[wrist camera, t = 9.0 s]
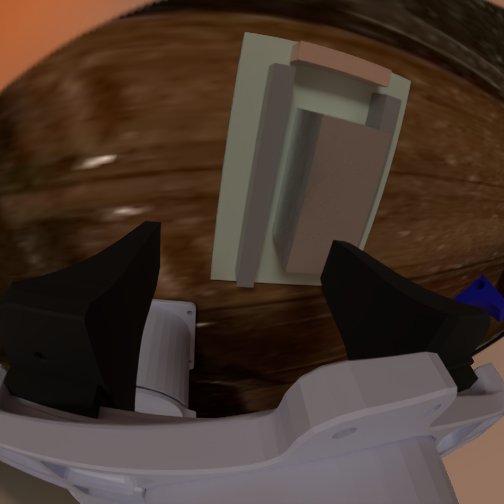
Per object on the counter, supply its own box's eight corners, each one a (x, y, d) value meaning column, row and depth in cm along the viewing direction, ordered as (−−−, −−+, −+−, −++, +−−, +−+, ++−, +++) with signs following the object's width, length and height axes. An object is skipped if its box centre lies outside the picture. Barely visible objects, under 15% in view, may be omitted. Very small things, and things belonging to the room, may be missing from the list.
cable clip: (418, 343, 34) (437, 376, 29) (412, 328, 32) (434, 363, 27) (482, 293, 31) (506, 320, 26) (481, 274, 29) (508, 302, 24)
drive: (322, 236, 22) (346, 275, 18) (271, 231, 21) (285, 272, 17) (352, 120, 17) (391, 134, 13) (296, 107, 17) (323, 114, 13)
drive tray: (345, 281, 26) (356, 301, 23) (210, 273, 24) (210, 295, 21) (404, 80, 17) (427, 82, 14) (243, 34, 15) (248, 25, 12)
